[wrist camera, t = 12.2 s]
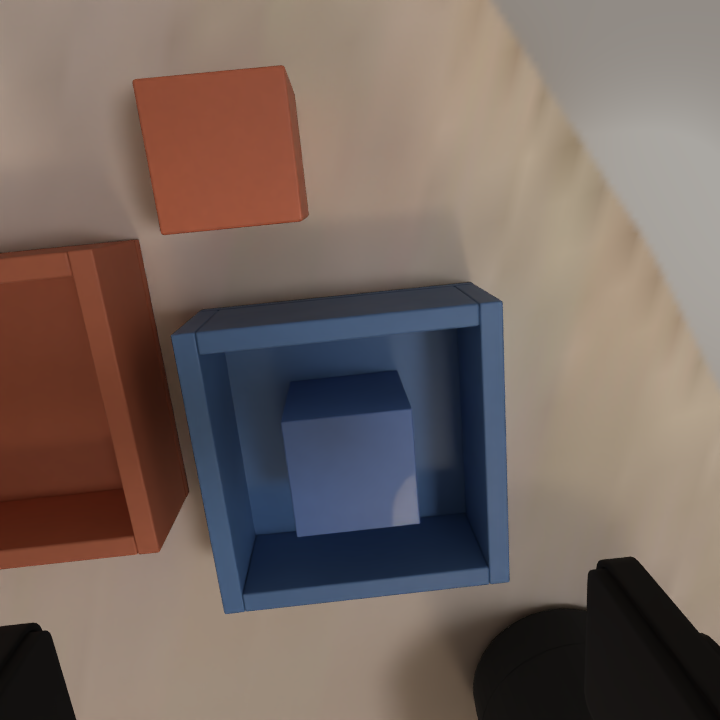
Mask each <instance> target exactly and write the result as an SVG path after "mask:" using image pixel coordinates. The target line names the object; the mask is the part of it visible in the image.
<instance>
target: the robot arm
mask: <svg viewBox="0 0 720 720" xmlns="http://www.w3.org/2000/svg"><path fill="white" fill-rule="evenodd" d="M584 694H585V700H586V704H587V707H588V710H589V712H590V715H591V717H592V719H593V720H720V646H719V645H718V644H717V643H716V642H715V641H714V640H713V639H711V638H710V637H709V636H707V635H705V634H703V633H699V632H698V631H697V630H696V628H695V627H694V626H693V625H692V624H691V623H690V621H689V620H688V619H687V618H686V617H685V615H684V614H683V613H682V612H681V611H680V610H679V608H678V607H677V606H676V605H675V604H674V603H673V601H672V600H671V599H670V598H669V597H668V595H667V594H666V593H665V592H664V591H663V590H662V588H661V587H660V586H659V585H658V584H657V583H656V581H655V580H654V579H653V578H652V577H651V575H650V574H649V573H648V572H647V571H646V570H645V568H644V567H643V566H642V565H641V564H640V563H639V561H638V560H636V559H635V558H633V557H623V558H614V559H605V560H600V561H598V563H597V567H596V569H595V570H590V571H589V573H588V583H587V615H586V646H585V678H584ZM0 720H76V717H75V714H74V711H73V707H72V704H71V700H70V697H69V694H68V690H67V687H66V683H65V680H64V677H63V673H62V670H61V667H60V663H59V660H58V656H57V653H56V650H55V646H54V643H53V639H52V636H51V634H50V633H49V632H48V631H42V629H41V627H40V626H39V625H38V624H37V623H26V624H17V625H8V626H1V627H0Z"/></svg>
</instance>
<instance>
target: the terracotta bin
mask: <svg viewBox="0 0 720 720" xmlns="http://www.w3.org/2000/svg"><path fill="white" fill-rule="evenodd" d="M188 493H189V489H188V484H187V479H186V474H185V469H184V464H183V459H182V454H181V449H180V444H179V439H178V434H177V429H176V424H175V419H174V414H173V409H172V404H171V399H170V394H169V389H168V384H167V379H166V374H165V369H164V364H163V359H162V354H161V349H160V344H159V340H158V335H157V330H156V325H155V320H154V315H153V310H152V305H151V300H150V295H149V290H148V285H147V280H146V275H145V270H144V265H143V260H142V255H141V250H140V245H139V241H138V240H127V241H117V242H107V243H97V244H87V245H77V246H67V247H57V248H47V249H37V250H27V251H17V252H6V253H0V569H8V568H17V567H26V566H35V565H44V564H54V563H63V562H72V561H81V560H90V559H99V558H108V557H117V556H126V555H135V554H138V553H139V554H147V553H156V552H159V551H160V550H161V548H162V546H163V544H164V542H165V539H166V537H167V535H168V533H169V531H170V529H171V527H172V525H173V523H174V521H175V519H176V517H177V515H178V513H179V511H180V509H181V507H182V505H183V503H184V501H185V499H186V497H187V495H188Z"/></svg>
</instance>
